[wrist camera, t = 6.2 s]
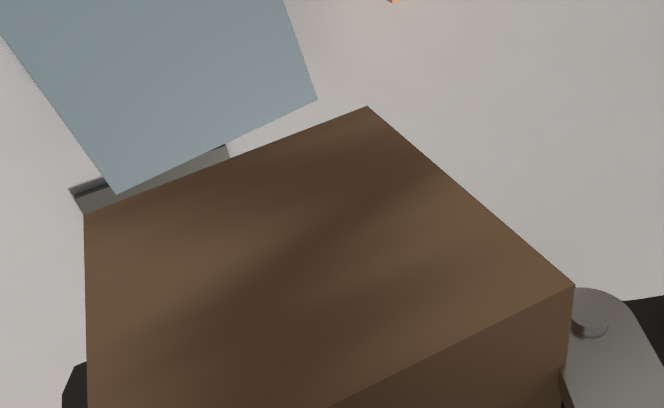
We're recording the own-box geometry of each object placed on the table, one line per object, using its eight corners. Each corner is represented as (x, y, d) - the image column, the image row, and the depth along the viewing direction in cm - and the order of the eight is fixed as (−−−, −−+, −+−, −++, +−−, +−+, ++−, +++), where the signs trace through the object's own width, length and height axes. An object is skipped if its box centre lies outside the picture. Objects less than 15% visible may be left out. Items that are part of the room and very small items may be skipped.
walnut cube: (367, 106, 10) (574, 284, 6) (401, 296, 14) (550, 499, 9) (83, 214, 9) (89, 526, 5) (195, 392, 13) (256, 670, 8)
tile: (224, 142, 29) (226, 146, 28) (263, 250, 33) (265, 255, 33) (74, 195, 27) (74, 200, 27) (138, 300, 32) (138, 306, 32)
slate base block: (207, -147, 22) (230, -147, 18) (289, 69, 28) (317, 99, 25) (-26, -53, 21) (-49, -34, 17) (112, 150, 27) (116, 194, 23)
